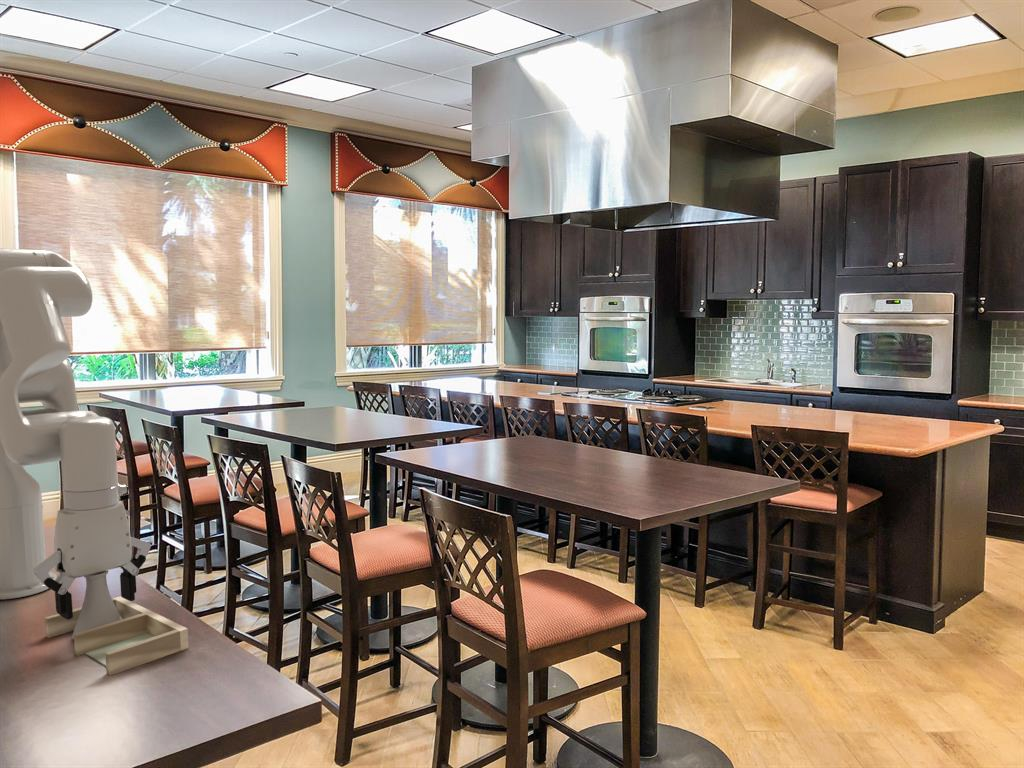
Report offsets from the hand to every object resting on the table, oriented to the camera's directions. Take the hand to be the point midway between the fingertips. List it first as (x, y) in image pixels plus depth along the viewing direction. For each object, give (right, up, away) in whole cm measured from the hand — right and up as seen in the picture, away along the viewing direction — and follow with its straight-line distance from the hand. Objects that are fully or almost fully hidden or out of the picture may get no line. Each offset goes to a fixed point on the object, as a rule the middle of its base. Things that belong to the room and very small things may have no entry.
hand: (97, 607), depth 128 cm
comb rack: (+4, -5, -3) cm, 7 cm away
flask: (0, -4, +1) cm, 5 cm away
